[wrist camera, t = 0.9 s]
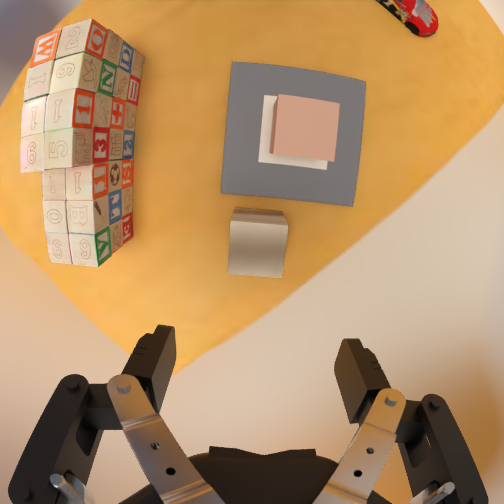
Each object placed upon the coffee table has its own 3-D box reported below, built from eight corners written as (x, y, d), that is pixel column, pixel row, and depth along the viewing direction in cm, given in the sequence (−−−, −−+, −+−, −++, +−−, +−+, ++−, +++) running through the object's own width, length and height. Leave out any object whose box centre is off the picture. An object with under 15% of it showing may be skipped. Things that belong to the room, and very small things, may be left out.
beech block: (234, 207, 30) (230, 220, 25) (281, 211, 30) (288, 225, 25) (231, 251, 32) (227, 273, 26) (276, 254, 32) (281, 278, 27)
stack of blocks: (135, 237, 32) (81, 284, 20) (91, 234, 31) (30, 275, 20) (145, 54, 24) (91, 15, 13) (98, 62, 24) (34, 36, 12)
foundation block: (273, 105, 26) (278, 94, 20) (322, 112, 26) (339, 103, 20) (269, 153, 27) (273, 154, 22) (318, 159, 27) (334, 161, 22)
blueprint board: (232, 63, 25) (232, 61, 24) (363, 82, 25) (366, 81, 24) (221, 192, 30) (220, 193, 29) (350, 205, 30) (353, 207, 29)
